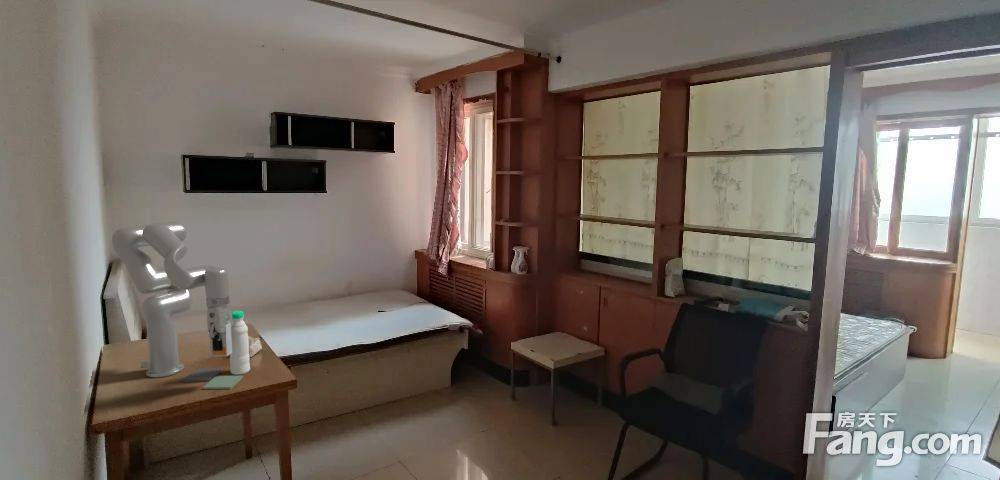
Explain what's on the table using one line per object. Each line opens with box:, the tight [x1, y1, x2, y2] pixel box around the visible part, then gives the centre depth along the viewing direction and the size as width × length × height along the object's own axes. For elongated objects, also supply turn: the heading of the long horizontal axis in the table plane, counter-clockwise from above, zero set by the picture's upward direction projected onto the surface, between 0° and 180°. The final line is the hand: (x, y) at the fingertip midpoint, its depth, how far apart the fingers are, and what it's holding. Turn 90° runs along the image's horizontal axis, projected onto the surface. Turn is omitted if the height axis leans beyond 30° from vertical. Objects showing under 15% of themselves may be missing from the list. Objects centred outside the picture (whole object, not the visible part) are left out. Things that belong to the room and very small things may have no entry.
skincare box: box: [209, 323, 232, 358], centre depth 181 cm, size 6×4×12 cm
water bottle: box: [229, 310, 251, 376], centre depth 192 cm, size 7×7×25 cm
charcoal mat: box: [181, 368, 223, 382], centre depth 190 cm, size 10×10×1 cm
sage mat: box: [202, 375, 244, 390], centre depth 184 cm, size 10×10×1 cm
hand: (221, 347), depth 182 cm, fingers closed on skincare box, 4 cm apart
